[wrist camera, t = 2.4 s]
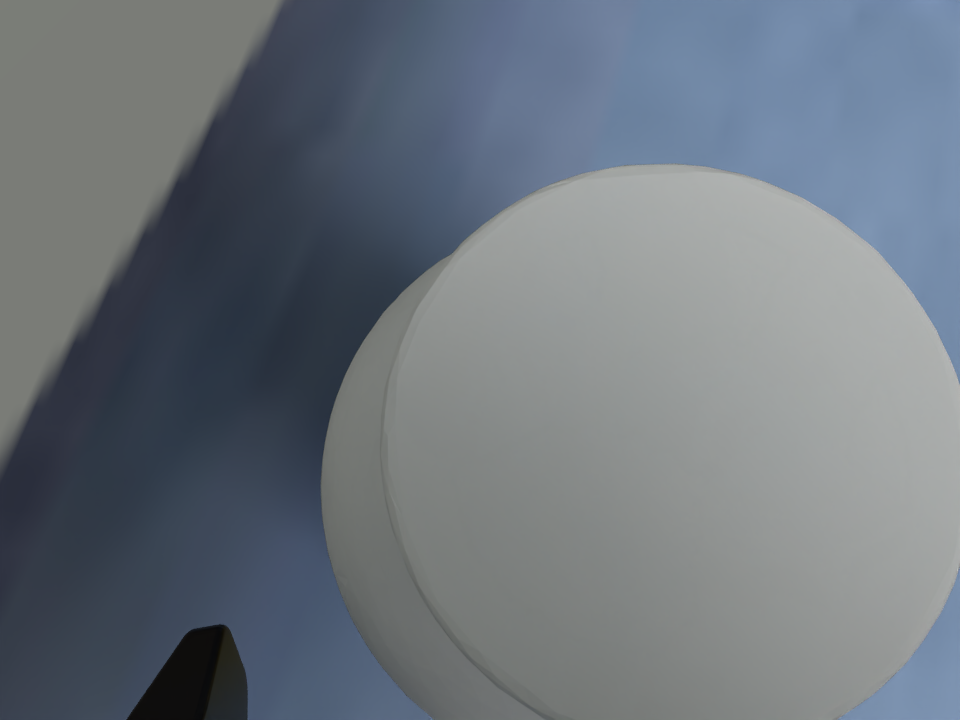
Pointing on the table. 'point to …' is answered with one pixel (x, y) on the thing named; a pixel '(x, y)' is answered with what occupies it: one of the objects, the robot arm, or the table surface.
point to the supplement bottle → (647, 461)
